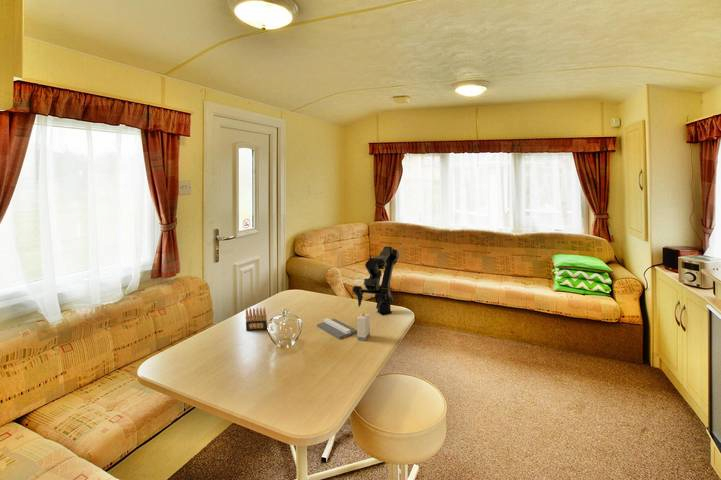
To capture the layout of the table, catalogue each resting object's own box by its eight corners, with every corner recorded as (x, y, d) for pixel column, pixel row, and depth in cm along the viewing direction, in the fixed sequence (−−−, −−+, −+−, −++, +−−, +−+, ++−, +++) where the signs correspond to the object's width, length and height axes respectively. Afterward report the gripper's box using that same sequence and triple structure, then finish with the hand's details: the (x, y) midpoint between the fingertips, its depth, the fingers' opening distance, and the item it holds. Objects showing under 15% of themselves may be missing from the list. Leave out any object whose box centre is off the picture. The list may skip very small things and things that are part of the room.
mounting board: (317, 326, 178) (316, 321, 178) (334, 320, 185) (334, 315, 184) (339, 339, 163) (339, 333, 162) (357, 332, 170) (357, 327, 169)
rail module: (362, 334, 167) (361, 310, 165) (369, 335, 166) (369, 311, 164) (357, 340, 161) (356, 315, 159) (365, 341, 160) (364, 316, 158)
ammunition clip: (268, 328, 178) (266, 306, 176) (267, 330, 176) (265, 307, 174) (247, 329, 177) (245, 307, 175) (246, 331, 175) (244, 308, 173)
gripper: (353, 270, 173) (345, 298, 165) (388, 272, 166) (382, 301, 158) (359, 281, 181) (352, 308, 173) (393, 283, 175) (387, 312, 166)
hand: (367, 307), depth 167 cm, fingers open, 9 cm apart
